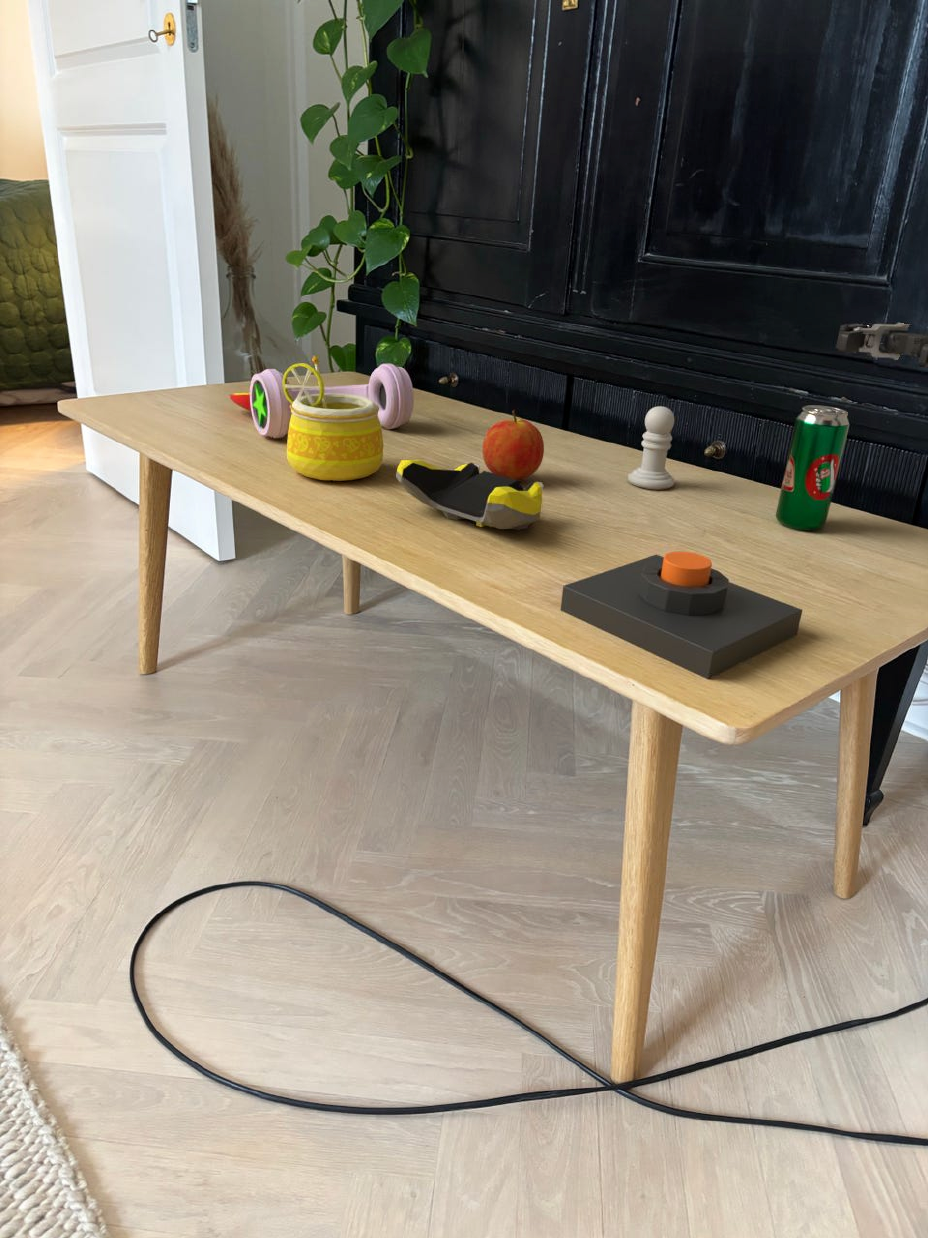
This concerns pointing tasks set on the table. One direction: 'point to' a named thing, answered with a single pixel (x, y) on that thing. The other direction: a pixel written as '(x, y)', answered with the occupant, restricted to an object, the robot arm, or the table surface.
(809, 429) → the soda can
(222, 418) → the table surface
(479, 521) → the shoe
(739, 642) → the push button base
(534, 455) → the fruit
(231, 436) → the table surface
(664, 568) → the orange push button
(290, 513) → the table surface
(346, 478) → the yellow drink pot
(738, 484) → the table surface
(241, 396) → the headphones
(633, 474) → the chess piece
